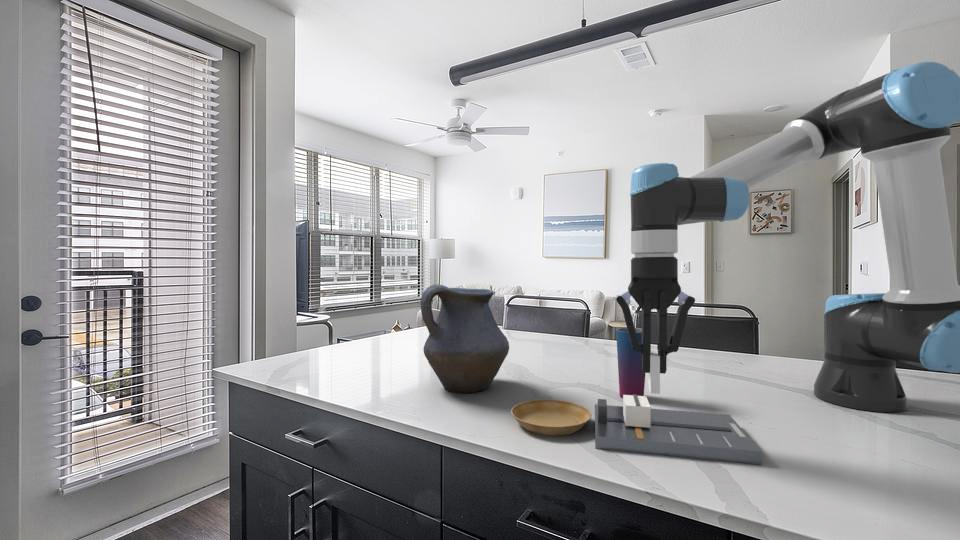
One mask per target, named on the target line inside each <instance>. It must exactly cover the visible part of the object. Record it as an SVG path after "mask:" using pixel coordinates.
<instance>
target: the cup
mask: <svg viewBox="0 0 960 540" xmlns="http://www.w3.org/2000/svg"><path fill="white" fill-rule="evenodd" d="M635 331H636V335H637V339H638V342H639V343H640V344H642V327H641V328H639V327H635ZM615 333H616V334H615V337H616V350H617V351H616V352H617V368H618V370H617V373H618V386H619V387H618V388H619V389H618V390H619V398H621V399H622V400H623V395H633V394H635V395H637V396H645V384H646V373H644V371H643V369H642V353H641V352H638V351H635V350H633V348H632V346H631V342H630V338H629V335H628V331H627V327H618V328H616V329H615Z"/></svg>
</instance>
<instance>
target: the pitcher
mask: <svg viewBox="0 0 960 540" xmlns="http://www.w3.org/2000/svg"><path fill="white" fill-rule="evenodd" d="M493 295H494V290H493V289H488V288H487V289H486V288H463V287H448V286H446V285H444V284H438V283H437V284H432V285H430V286H428V287H427V288H426V289H425V290H424V291H423V293H422V295H421V298H420V311H421V316H422V321H423V322H424V324H425V326H426V328H427V331H428V333H429V335H428V337H427V338H426V341H425V343H424V346H423V355H424V356H425V358H426V360H427V361H428V364H429V366H430V367H431V368H432V370H433V372H434V373H435V375H436V377H437V378H438V380H439V382H440V384H441V385H442V387H444V388H445V390H447V391H450V392H452V393H455V394H473V393H476V392H484V391H486V390H488V389H489V387H490V386H491V384H492V383H493V381H494V380H495V377H496V376H497V374H498V373H499V371H500V370H501V367H502V365H503V363H504V362H505V360H506V358H507V356H508V354H509V351H510V342H509V340H508V338H507V336H506V335H505V334H504V333H503V331H502V330H501V329H500V327H499V326H498V323H497V320H496V319H495V317H494V315H493V312H492V310H491V308H490V304H489V303H490V300H491V298H492V297H493ZM436 296H437V297H438V298H439V299H440V303H441V305H440V309H439V313H438V316H437V318H436V320H434V314H433V307H432V301H433V299H434V297H436Z"/></svg>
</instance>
